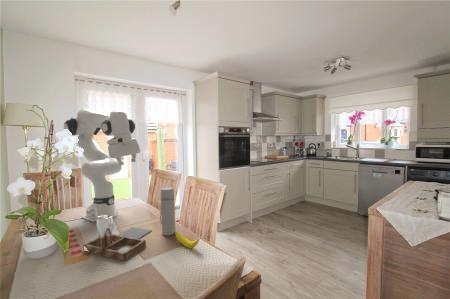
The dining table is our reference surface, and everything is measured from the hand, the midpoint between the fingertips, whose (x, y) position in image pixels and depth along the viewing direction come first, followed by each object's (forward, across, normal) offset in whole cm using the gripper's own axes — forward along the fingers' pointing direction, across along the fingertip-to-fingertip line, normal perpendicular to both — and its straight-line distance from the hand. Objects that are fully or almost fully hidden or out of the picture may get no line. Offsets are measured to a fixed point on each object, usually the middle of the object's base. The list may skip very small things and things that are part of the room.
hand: (127, 163), depth 121 cm
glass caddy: (+38, +22, +4) cm, 44 cm away
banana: (+43, +11, +35) cm, 56 cm away
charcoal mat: (+39, +7, +1) cm, 39 cm away
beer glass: (+38, +22, -2) cm, 43 cm away
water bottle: (+41, +1, +18) cm, 45 cm away
